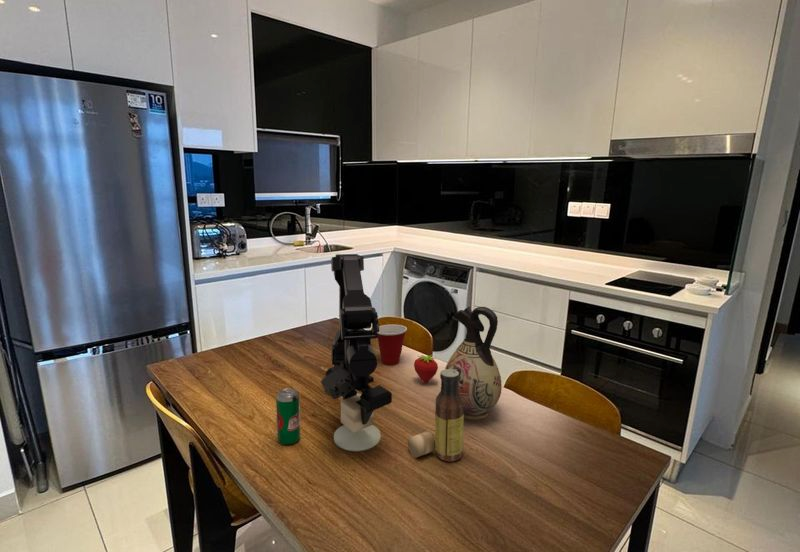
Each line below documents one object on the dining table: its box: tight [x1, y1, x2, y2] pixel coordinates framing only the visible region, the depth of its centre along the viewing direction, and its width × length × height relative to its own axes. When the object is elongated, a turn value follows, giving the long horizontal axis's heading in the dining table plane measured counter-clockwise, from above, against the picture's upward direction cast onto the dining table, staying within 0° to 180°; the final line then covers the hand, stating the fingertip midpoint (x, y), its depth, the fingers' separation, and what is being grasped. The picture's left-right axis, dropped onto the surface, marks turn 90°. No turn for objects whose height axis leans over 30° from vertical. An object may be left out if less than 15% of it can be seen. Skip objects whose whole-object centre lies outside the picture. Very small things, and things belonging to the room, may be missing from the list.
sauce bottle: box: [434, 368, 465, 463], centre depth 93 cm, size 6×6×20 cm
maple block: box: [340, 393, 375, 433], centre depth 100 cm, size 6×6×6 cm
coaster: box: [333, 424, 381, 452], centre depth 101 cm, size 11×11×1 cm
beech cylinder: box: [407, 431, 436, 459], centre depth 95 cm, size 4×4×4 cm
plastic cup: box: [377, 323, 408, 366], centre depth 141 cm, size 11×11×12 cm
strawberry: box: [413, 354, 439, 384], centre depth 128 cm, size 6×8×10 cm
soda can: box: [275, 387, 301, 446], centre depth 98 cm, size 5×5×12 cm
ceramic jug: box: [444, 306, 503, 420], centre depth 110 cm, size 17×15×30 cm
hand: (357, 418), depth 100 cm, fingers closed on maple block, 5 cm apart
